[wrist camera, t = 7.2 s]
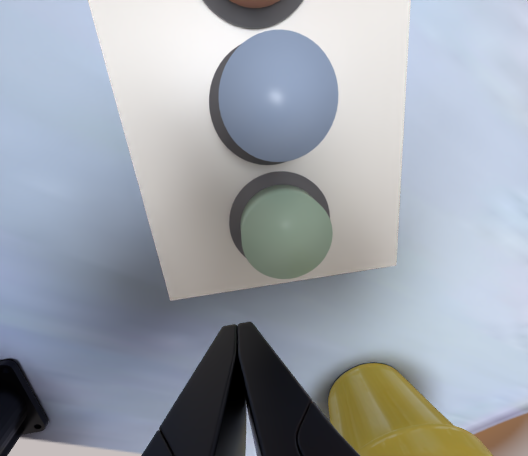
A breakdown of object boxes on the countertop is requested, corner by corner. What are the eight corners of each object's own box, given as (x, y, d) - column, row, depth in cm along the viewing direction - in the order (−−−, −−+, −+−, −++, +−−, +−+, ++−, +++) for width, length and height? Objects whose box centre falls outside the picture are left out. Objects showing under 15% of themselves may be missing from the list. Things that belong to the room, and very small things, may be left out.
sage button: (322, 255, 17) (333, 272, 15) (246, 266, 16) (248, 285, 14) (318, 179, 15) (331, 187, 13) (234, 190, 15) (234, 200, 13)
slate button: (324, 149, 13) (339, 154, 11) (229, 162, 13) (229, 168, 11) (320, 38, 12) (337, 22, 10) (212, 50, 11) (208, 36, 10)
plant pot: (325, 335, 22) (392, 487, 13) (443, 349, 24) (575, 492, 15) (291, 430, 25) (324, 606, 16) (396, 437, 27) (481, 599, 18)
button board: (380, 251, 20) (398, 267, 18) (176, 283, 19) (169, 303, 17) (393, -155, 13) (426, -211, 11) (69, -131, 12) (33, -186, 10)
